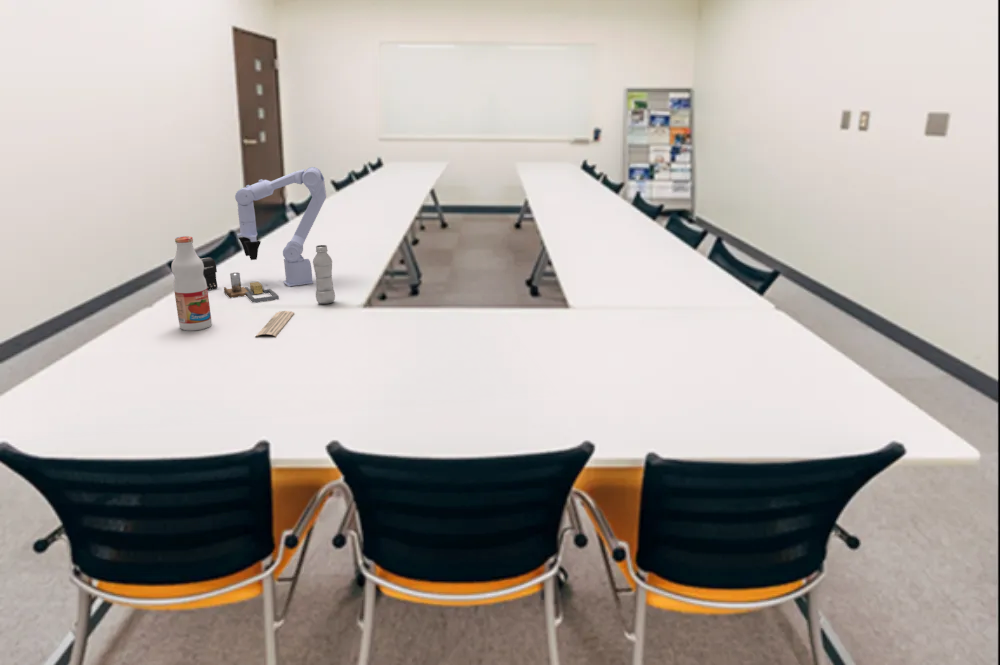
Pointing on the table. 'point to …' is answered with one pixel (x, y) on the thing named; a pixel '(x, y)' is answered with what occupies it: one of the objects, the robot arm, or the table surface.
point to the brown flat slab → (235, 294)
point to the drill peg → (235, 282)
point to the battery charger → (210, 273)
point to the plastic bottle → (323, 276)
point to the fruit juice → (190, 287)
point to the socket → (274, 296)
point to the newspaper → (276, 323)
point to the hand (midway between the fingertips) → (251, 257)
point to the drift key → (256, 287)
